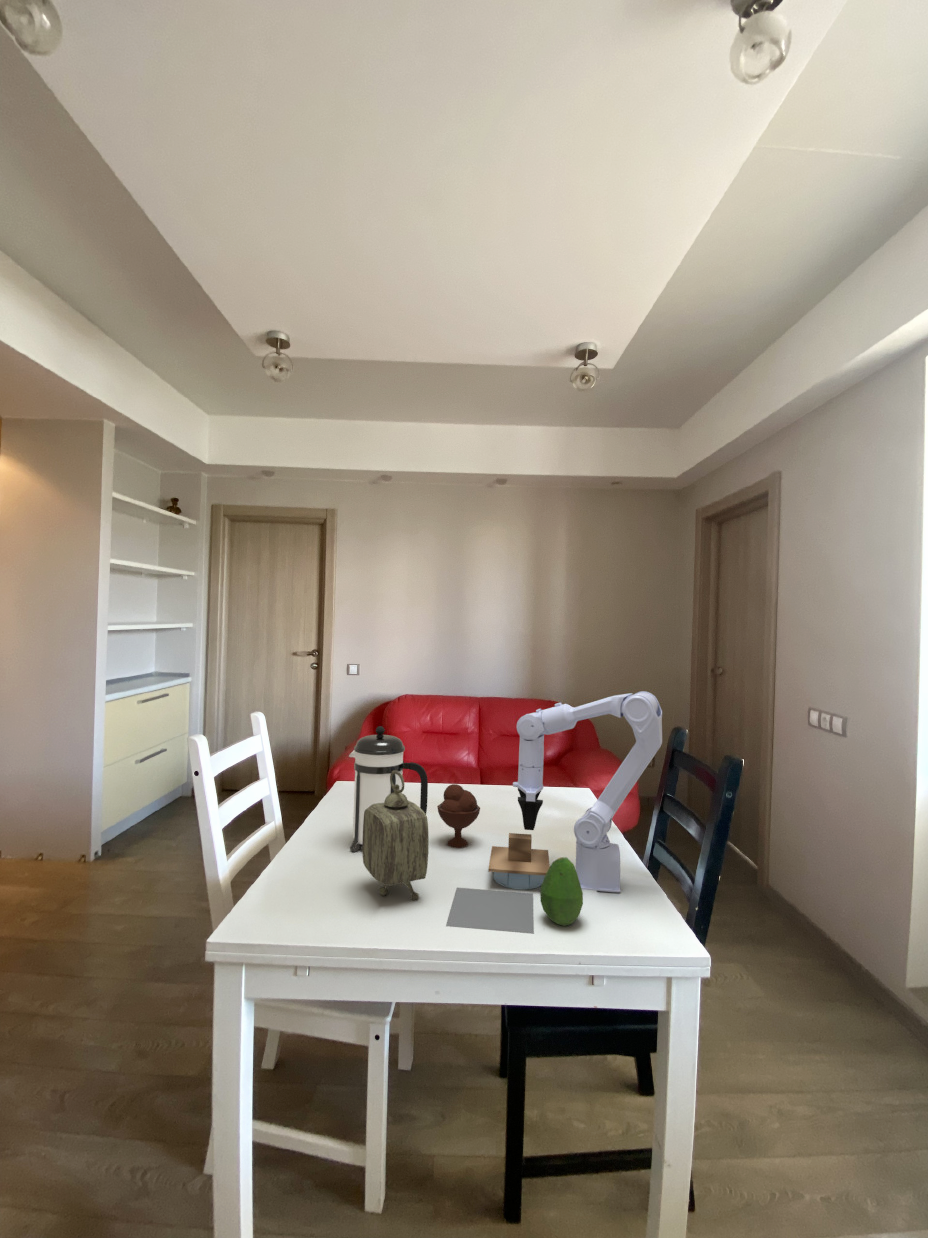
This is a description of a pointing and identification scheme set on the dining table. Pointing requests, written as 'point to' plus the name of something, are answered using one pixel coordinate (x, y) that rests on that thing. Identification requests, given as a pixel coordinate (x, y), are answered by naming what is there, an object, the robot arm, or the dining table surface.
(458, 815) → the ice cream bowl
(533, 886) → the bowl
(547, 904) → the avocado
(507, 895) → the mat
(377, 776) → the coffee press
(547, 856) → the cover board
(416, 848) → the tabletop clock
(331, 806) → the dining table surface
